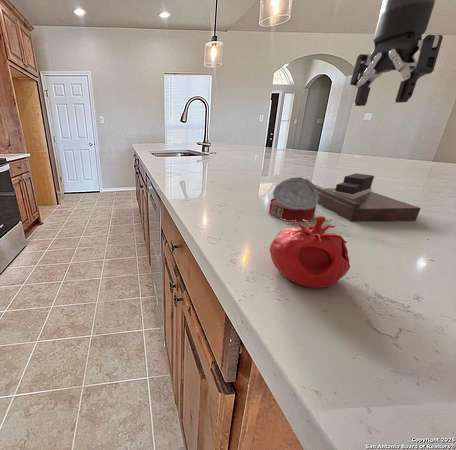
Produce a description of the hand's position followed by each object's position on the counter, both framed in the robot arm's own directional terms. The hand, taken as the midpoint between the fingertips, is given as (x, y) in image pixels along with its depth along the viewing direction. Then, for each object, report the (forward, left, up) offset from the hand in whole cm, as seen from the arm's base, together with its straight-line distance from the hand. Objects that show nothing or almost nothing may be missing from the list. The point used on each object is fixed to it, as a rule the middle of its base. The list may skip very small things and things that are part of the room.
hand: (379, 104), depth 52 cm
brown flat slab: (-3, -2, -24) cm, 24 cm away
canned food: (+15, +2, -24) cm, 29 cm away
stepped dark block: (-3, -5, -21) cm, 22 cm away
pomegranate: (+25, +28, -24) cm, 45 cm away
